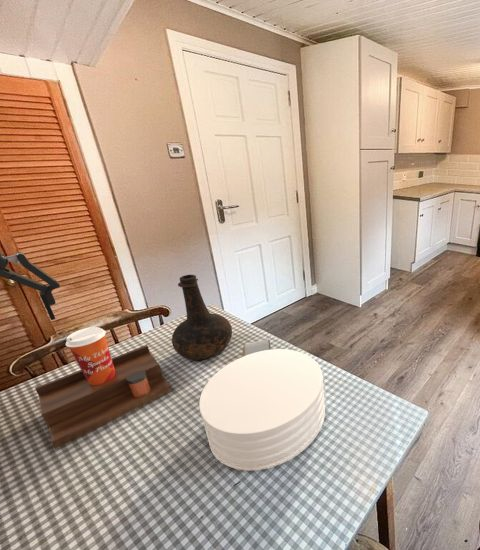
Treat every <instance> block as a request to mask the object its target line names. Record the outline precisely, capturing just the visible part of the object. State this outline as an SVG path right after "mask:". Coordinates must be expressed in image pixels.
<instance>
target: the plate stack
mask: <svg viewBox="0 0 480 550" xmlns="http://www.w3.org/2000/svg"><path fill="white" fill-rule="evenodd" d="M198 405H199V407H198V408H199V413H200V416H201V419H202V423H203V426H204V431H205V434H206V436H207V441H208V444H209V449H210V451H211V453H212V454H213V456H214V458H216V459H217V460H218V461H219V462H220V463H222V465H225V466H226V467H229V468H232V469H235V470H240V471H248V472H249V471H261V470H267V469H270V468H274V467H278V466H280V465H282V464H284V463H286V462H288V461H290V460H292V459H294V458H295V457H296V456H298V455H300V454H301V453H302V452H304V450H306V449H307V448H308V447H309V446H310V445H311V444H312V443H313V442H314V440H315V439H316V438H317V436H318V435H319V433H320V431H321V429H322V427H323V425H324V421H325V418H326V417H325V416H326V404H325V392H324V376H323V371H322V368H321V367H320V364H319V363H318V362H317V361H316V360H315V359H314V358H312V357H311V356H310V355H308V354H306V353H305V352H302V351H298V350H293V349H287V348H286V349H285V348H273V349H272V348H271V350H264V351H259V352H255V353H252V354H249V355H246V356H244V357H243V356H241V357H239V358H237V359H235V360H232V361H231V362H229V363H228V364H226V365H224V366H223V367H222V368H221V369H219V370H218V371H216V372H215V374H214V375H212V377H210V379H209V380H208V382H207V383H206V384H205V386H204V387H203V389H202V391H201V394H200V397H199V402H198Z"/></svg>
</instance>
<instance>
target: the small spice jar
mask: <svg viewBox="0 0 480 550" xmlns="http://www.w3.org/2000/svg"><path fill="white" fill-rule="evenodd" d="M126 380H127V382H128V384H129V386H130V389H131V392H132V394H133V396H134V397H140V396H143V395H145V394H147V393H148V392H149V391H150V389H151V388H150V385H149V382H148V379H147V375H146V372H145V371H136V372H133V373H131V374H130V375H129V376H128V377H127V378H126Z"/></svg>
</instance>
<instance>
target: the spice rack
mask: <svg viewBox="0 0 480 550" xmlns="http://www.w3.org/2000/svg"><path fill="white" fill-rule="evenodd" d="M111 359H112V362H113V366H114V369H115V376H114V377H113V378H112V379H111V380H109V381H107V382H105V383H103V384H100V385H90V384H89V382H88V381H87V379H86V377H85V375H84V374H83V372H82V370H81V369H80V370H77V371H75V372H72V373H70V374H67V375H64V376H62V377H59V378H56V379H54V380H51V381H49V382H45V383H43V384H41V385H37V386H35V387H34V389H35V391H36V394H37V395H38V400H39V405H40V412H41V416H42V418H43V420H44V421H45V423H46V425H47V427H48V431H49V437H50V442H51V444H52V446H53V448H54V449H58V448H60V447H62V446H64V445H66V444H68V443H70V442H72V441H75V440H77V439H78V438H80V437H82V436H84V435H86V434H88V433H90V432H92V431H95V430H96V429H98V428H101V427H103V426H105V425H106V424H108V423H110V422H113V421H114V420H117V419H119V418H121V417H123V416H124V415H127V414H129V413H131V412H132V411H135V410H136V409H139V408H141V407H143V406H145V405H147V404H148V403H150V402H152V401H155V400H157V399H159V398H162V397H163V396H165V395H167V394H169V393H171V392H172V391H173V390H172V387H171V384H170V383H169V381H168V380H167V379H166V378H165V377H164V375H163V372H162V369H161V366H160V365H161V364H160V363H159V362H158V361H157V359H156V358H155V357H154V355H153V354H152V353H151V351H150V348H149V345H148V344H146V345H143V346H141V347H137V348H135V349H132V350H130V351H128V352H124V353H122V354H119V355H117V356H114V357H111ZM136 371H145V372H146V375H147V379H148V382H149V385H150V388H151V389H150V391H149V392H148V393H147V394H145V395H143V396H140V397H134V396H133V394H132V392H131V389H130V386H129V384H128V382H127V380H126V378H127V377H128V376H129V375H130V374H131V373H133V372H136Z"/></svg>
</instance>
